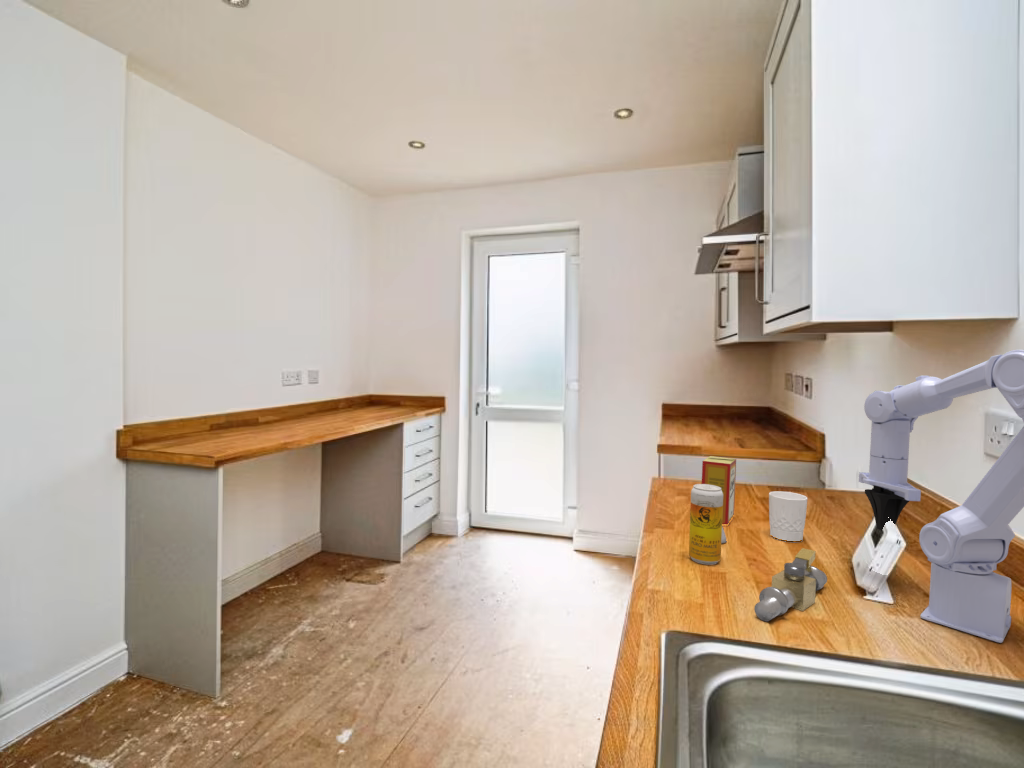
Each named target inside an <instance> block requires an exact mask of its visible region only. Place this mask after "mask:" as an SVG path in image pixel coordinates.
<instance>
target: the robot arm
mask: <svg viewBox="0 0 1024 768" xmlns="http://www.w3.org/2000/svg"><path fill="white" fill-rule="evenodd" d="M994 388H995V389H996V388H997V390H998V391H999V393H1000V394H1001V395H1002V396H1003V397H1004V399H1005V400H1006V402H1007V403H1008V404H1009V406H1010V407H1011V408H1012V410H1013V411H1014V413H1015V414H1016V415H1017V416H1018V418H1021V420H1022V422H1023V423H1024V349H1012V350H1010V351H1007V352H1005V353H1004V354H996V355H992V356H990V357H989V359H987V360H986V361H983V362H981V363H979V364H976V365H974V366H971V367H969V368H967V369H963V370H962V371H961V370H960V371H959V372H956V373H954V374H952V375H949V376H947V377H945V378H943V379H942V378H940V377H937V376H930V375H919V376H916V377H915V381H913V382H911V383H908V384H905V385H900V384H899V385H898V384H897V385H896V386H894V387H893V389H891V390H890V391H884V390H875V391H873V392H872V393H869V395H868V396H866V399H865V400H864V405H863V406H864V407H863V408H864V409H863V410H864V413H865V416H866V417H867V418H868V420H870V421H871V427H870V428H871V430H870V431H871V432H870V447H869V450H870V451H869V465H868V467H869V469H868V472H859V474H858V483H862V484H867V485H870V486H872V489H869V488H868V489H866V488H865V489H864V495H865V496H866V497H867V499H868V502H869V503H870V506H871V509H872V512H873V515H874V516H873V517H874V520H875V525H876V528H877V529H878V530H879V531H880V532H881V531H882V529H883V527H884V525H885V523H886V522H888V521H890V519H891V521H893V523H894V524H895V526H896V525H897V521H898V519H899V518H900V517H899V516H900V514H901V513H902V511H903V510H904V508H905V506H906V505H908V504H909V502H921V498H922V495H921V494H922V490H921V489H919V488H916V487H915V486H913V485H912V484H911V483H909V482H908V476H909V475H908V474H909V454H910V453H909V451H910V437H911V433H912V431H913V430H914V424H915V422H916V421H917V419H918V418H919V417H922V416H925V415H928V414H932V413H936V412H938V411H942V410H945V409H947V408H949V407H950V406H951V405H952V403H953V401H954V399H955V398H959V397H963V396H968V395H970V394H971V395H972V394H975V393H979V392H983V391H987V390H992V389H994ZM1016 434H1017V435H1015V437H1014V438H1013V439H1012V441H1010V443H1009V445H1007V447H1006V448H1005V449H1004V450H1003V452H1002V454H1001V455H999V457H998V458H997V460H996V461H995V462H994V463H993V465H992V466H991V467H990V469H989V470H988V471H987V472H986V473H985V475H984V476H983V478H982V479H981V480H980V481H979V483H978V484H977V485H976V486H975V488H974V489H973V490H972V492H971V493H970V494H969V496H967V498H966V499H965V500H964V502H963V503H962V504H961V505H959V506H956V507H955V508H953V509H950V510H948V511H945V512H943V513H941V514H939V516H938V517H937V519H935V520H934V521H932V522H929V523H926V524H925V525H923V526H922V527H921V530H920V532H919V539H918V540H919V545H920V547H921V550H922V552H923V553H924V555H925V556H926V557H927V561H929V562H930V563H931V564H930V581H929V582H930V585H929V595H928V596H929V597H928V601H929V602H928V605H927V607H926V608H925V609H924V610H923V611H922V612H921V614H920V618H921V619H923V620H925V621H928V622H929V621H930V622H932V623H935V624H939V625H943V626H946V627H949V628H951V629H955V630H958V631H961V632H964V633H967V634H970V635H974V636H978V637H979V638H983V639H986V640H990V641H992V642H996V643H998V644H999V643H1000V644H1001V643H1003V642H1004V640H1005V637H1006V636H1007V634H1008V631H1009V630H1010V628H1011V625H1012V624H1011V623H1012V616H1011V604H1012V603H1011V601H1012V579H1011V578H1010V577H1008V576H1006V575H1001V574H999V573H996V572H994V571H997V565H998V564H999V563H1002V562H1003V561H1004V560H1005V559H1006V558H1007V556H1008V554H1009V546H1010V543H1011V541H1013V539H1014V538H1015V537H1016V534H1015V533H1014V531H1013V529H1012V527H1011V526H1010V523H1011V522H1012V521H1013V520H1014V519H1015V518H1016V517H1017V515H1018V514H1019V513H1020V512H1021V511H1022V509H1023V508H1024V425H1023V426H1022V428H1021V429H1020V430H1019V432H1017V433H1016ZM888 517H889V518H888ZM882 532H883V531H882Z"/></svg>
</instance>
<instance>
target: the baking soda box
mask: <svg viewBox="0 0 1024 768" xmlns="http://www.w3.org/2000/svg"><path fill="white" fill-rule="evenodd" d="M701 469H702V470H701V484H709V485H715V486H718V487H720V488H721V490H722V492H723V513H722V524H728V523H729V521H730V520H731V518H732V517H733V515H734V516H735V503H736V502H735V498H736V497H735V496H736V475H737V474H736V473H737V458H733V457H723V456H722V457H721V456H713V455H710V456H708V457H706V458H705V459H703V460H702V466H701Z"/></svg>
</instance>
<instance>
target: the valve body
mask: <svg viewBox="0 0 1024 768" xmlns="http://www.w3.org/2000/svg"><path fill="white" fill-rule="evenodd" d="M826 583H828V577H827V574H826V573H825V572H824V571H823V570H820V569H819V568H817V567H816V566H814V565H810V567H809V568H808V567H807V568H806V570H805V574H804V580H792V579H789V578H787V577H785V576H784V569H783V570H781V571H779V572H778V573H776V574H774V575H772V576H771V586H767V587H765V588H763V589H762V590H761V591H760V592H759V596H758V598H759V599H758V600H759V601H758V602H757V603H755V605H754V613H755V616H756V617H757V618H758V620H759V619H760V621H763V622H769V621H771V620H773V619H775V618H776V617H779V616H782V615H784V614H785V613H786V612H787V611H788V609H789V608H793V609H796V610H798V611H801V612H804V611H806V610H807V609H808V608H809V607H811V606H812V605H814V604H815V603H816V592H817V591H819V590H821V589H823V588H824V586H825V585H826Z"/></svg>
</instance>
